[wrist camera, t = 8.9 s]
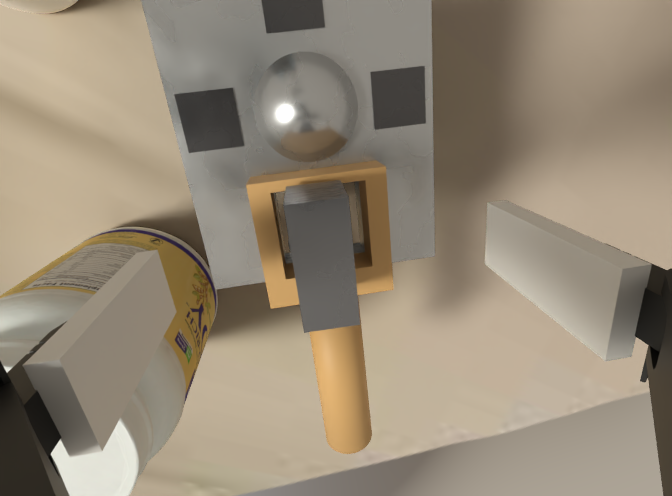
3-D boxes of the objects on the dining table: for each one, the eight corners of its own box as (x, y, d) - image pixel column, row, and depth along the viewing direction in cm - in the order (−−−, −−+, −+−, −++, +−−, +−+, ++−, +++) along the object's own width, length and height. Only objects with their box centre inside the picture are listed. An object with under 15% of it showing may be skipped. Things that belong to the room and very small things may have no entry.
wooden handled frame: (254, 167, 21) (245, 185, 17) (365, 153, 22) (385, 166, 17) (299, 403, 28) (301, 462, 23) (383, 388, 28) (402, 443, 24)
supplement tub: (220, 350, 35) (166, 547, 20) (78, 347, 33) (-107, 561, 18) (221, 226, 31) (155, 350, 15) (59, 214, 29) (-204, 342, 14)
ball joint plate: (196, 22, 26) (127, -40, 15) (373, 4, 27) (435, -67, 16) (240, 226, 31) (214, 293, 20) (385, 205, 32) (438, 259, 21)
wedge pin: (287, 147, 28) (275, 206, 14) (326, 143, 29) (356, 196, 14) (297, 218, 31) (297, 333, 16) (334, 213, 31) (367, 323, 16)
